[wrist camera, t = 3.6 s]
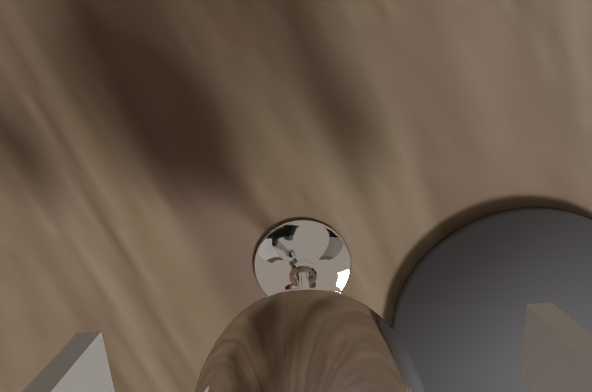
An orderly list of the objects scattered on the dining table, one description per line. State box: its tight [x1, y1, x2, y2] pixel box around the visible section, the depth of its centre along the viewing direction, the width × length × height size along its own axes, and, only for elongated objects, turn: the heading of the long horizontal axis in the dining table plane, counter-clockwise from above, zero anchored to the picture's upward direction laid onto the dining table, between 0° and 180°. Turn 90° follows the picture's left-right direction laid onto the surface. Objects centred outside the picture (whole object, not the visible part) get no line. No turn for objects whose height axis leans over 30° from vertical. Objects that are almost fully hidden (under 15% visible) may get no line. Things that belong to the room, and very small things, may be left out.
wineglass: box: [194, 219, 426, 392], centre depth 13 cm, size 6×6×12 cm
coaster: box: [392, 207, 592, 392], centre depth 19 cm, size 12×12×1 cm
